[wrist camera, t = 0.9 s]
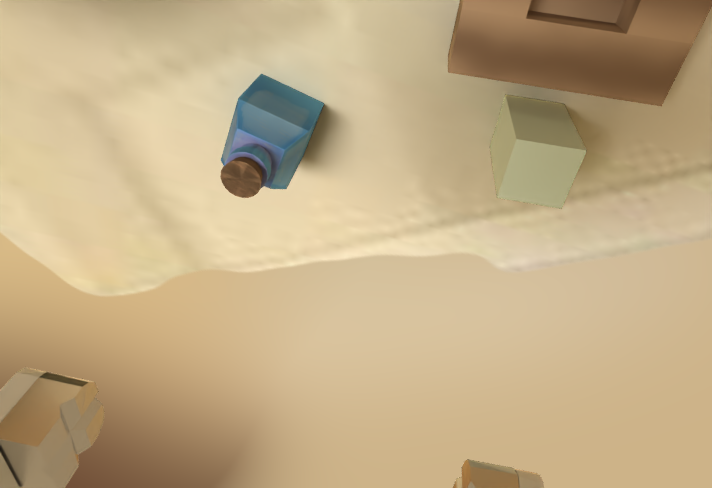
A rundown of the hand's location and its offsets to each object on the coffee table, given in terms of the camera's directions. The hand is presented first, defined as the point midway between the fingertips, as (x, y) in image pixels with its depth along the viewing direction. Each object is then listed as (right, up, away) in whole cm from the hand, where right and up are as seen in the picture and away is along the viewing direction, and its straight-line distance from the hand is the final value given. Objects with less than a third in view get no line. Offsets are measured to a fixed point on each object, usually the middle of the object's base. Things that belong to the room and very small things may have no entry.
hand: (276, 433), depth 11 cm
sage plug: (+17, +15, +33) cm, 40 cm away
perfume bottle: (-5, +16, +36) cm, 40 cm away
